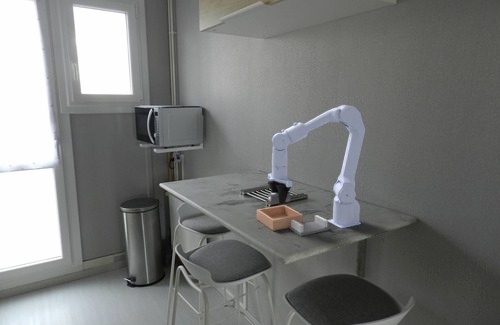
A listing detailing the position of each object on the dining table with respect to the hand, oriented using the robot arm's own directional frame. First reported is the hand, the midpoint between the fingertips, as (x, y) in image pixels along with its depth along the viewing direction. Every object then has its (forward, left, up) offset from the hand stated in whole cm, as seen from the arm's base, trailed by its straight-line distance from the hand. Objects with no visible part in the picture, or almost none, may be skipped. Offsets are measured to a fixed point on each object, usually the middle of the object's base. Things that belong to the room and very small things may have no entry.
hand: (279, 201), depth 125 cm
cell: (0, 0, +1) cm, 1 cm away
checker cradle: (-6, +11, -8) cm, 15 cm away
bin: (0, 0, -8) cm, 8 cm away
